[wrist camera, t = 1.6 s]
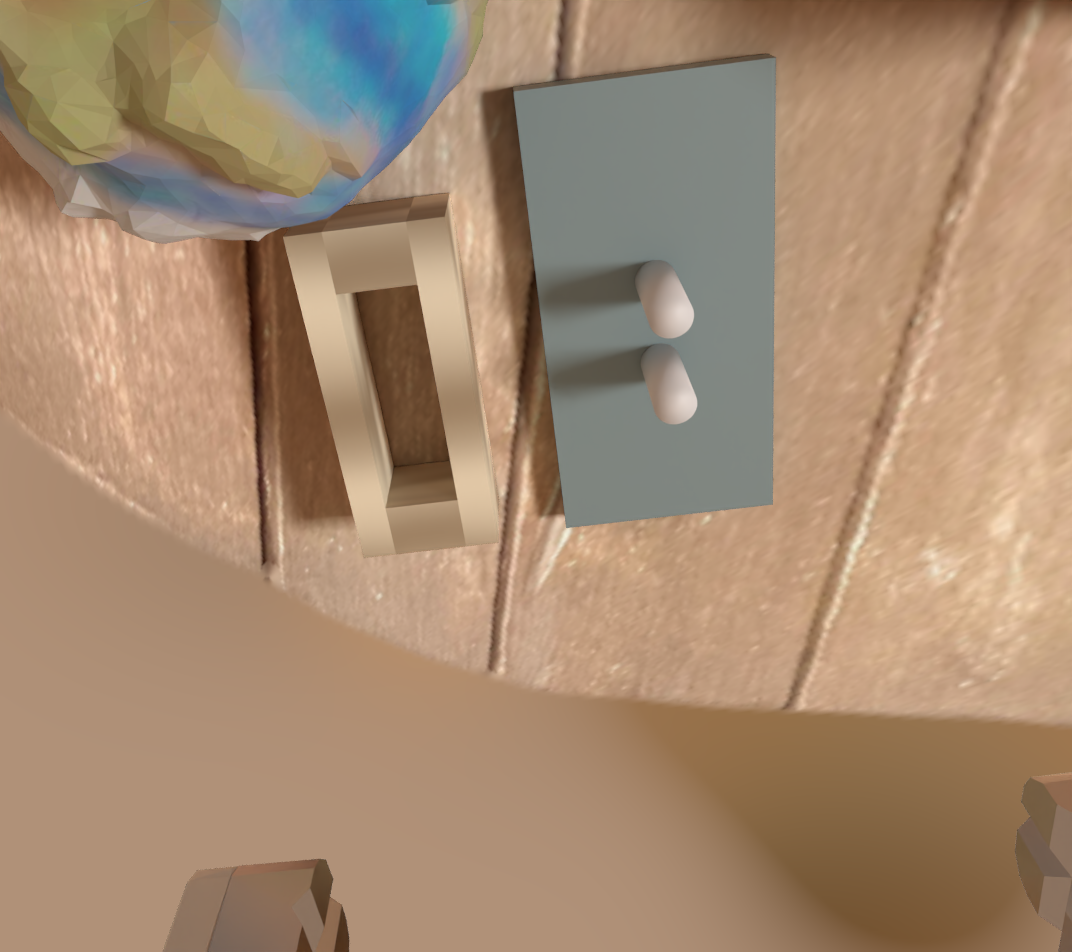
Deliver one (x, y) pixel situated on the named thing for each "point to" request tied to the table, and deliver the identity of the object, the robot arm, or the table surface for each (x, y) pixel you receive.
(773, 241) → the boss board
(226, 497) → the table surface
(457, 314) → the beige wooden rectangular frame
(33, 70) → the decorative rock
